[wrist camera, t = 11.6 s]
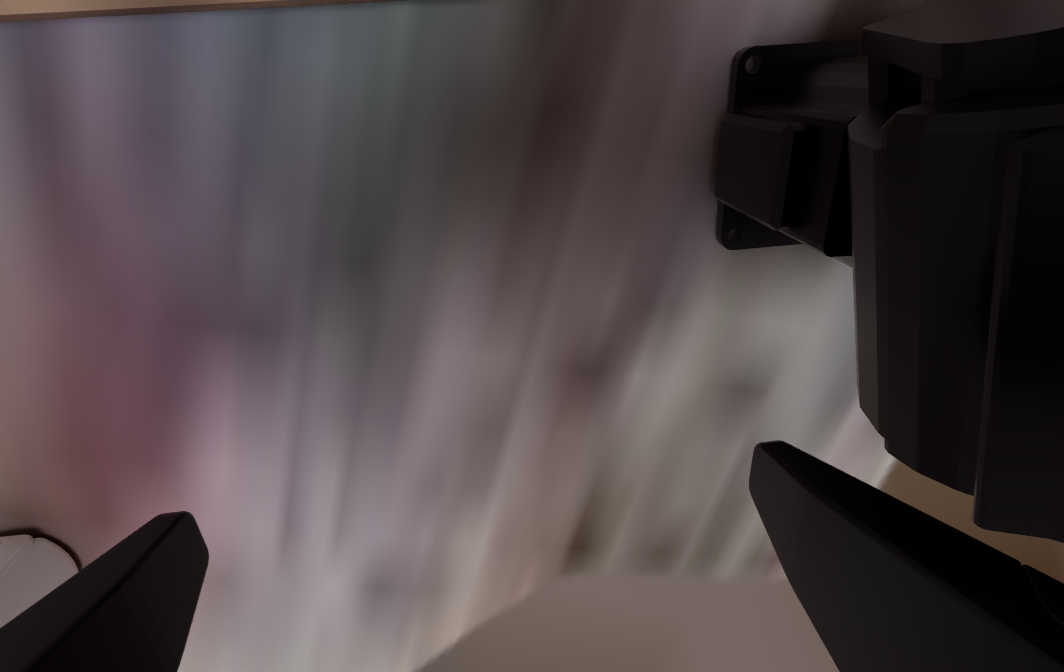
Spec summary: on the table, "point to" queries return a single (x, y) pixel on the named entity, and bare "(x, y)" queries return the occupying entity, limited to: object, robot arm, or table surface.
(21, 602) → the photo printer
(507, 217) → the table surface
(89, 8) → the base board
